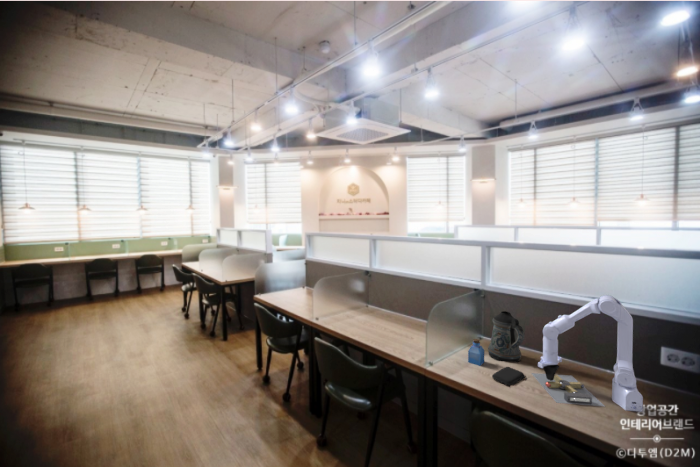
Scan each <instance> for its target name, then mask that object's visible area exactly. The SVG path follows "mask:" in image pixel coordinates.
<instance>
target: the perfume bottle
mask: <svg viewBox="0 0 700 467" xmlns="http://www.w3.org/2000/svg"><path fill="white" fill-rule="evenodd" d="M480 341H481V340H480V339H478V338H473V340H472V345H471V346H470V347H469V349H468V350H467V353H468V354H467V356H468V357H467V363H469V364H472V365H476V366H479V367H481V365H483V364H484V363H485V349H484V348H483V346H482V345H481V342H480Z"/></svg>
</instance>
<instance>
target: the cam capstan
mask: <svg viewBox="0 0 700 467" xmlns="http://www.w3.org/2000/svg"><path fill="white" fill-rule="evenodd" d="M558 375H559V374H556V373H555V376H554V380H555V381H556V382H549V381H547V382H546V383H545V385H546V386H547V387H549V388H559V389H562V390H567V391H568V392H569V393H577V391H576V390H575V389H573V388H578V389H582V388H584V387H585V384H584V383H583V382H581V381H578V382H568V381H565V380H563V379H561V378H560V377H559V376H558Z"/></svg>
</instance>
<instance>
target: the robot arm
mask: <svg viewBox="0 0 700 467" xmlns="http://www.w3.org/2000/svg"><path fill="white" fill-rule="evenodd" d="M601 313H602V314H605V315H607V316H609V317H611V318H613V319H614V320H615V321H616V322H617V332H616V334H617V338H616V339H617V341H616V348H617V349H616V363H615V364H614V365H613V372H614V377H613V378H612V383H611V388H612V389H611V400H612V401H613V403H615V404H616V405H618V406H620V407H621V409H623V410H624V411H631V412H643V406H644V404H643V403H644V402H643V401H644V397H643V395H642V394H641V392H639V389H638V388H637V378H636V376H635V370H634V368H633V367H634V366H633V349H634V348H633V347H634V346H633V342H634V340H633V339H634V338H633V337H634V334H633V333H634V332H633V330H634V319H633V317H632V315H631V313H630V312H629V311H628V310H627V308H625V305H623V304H622V302H621V301H620V300H618V299H617V298H616V297H614V296H612V295H609V294H603V295H601V296H600V297H598V298H594V299H592V300H591V301H589V302H587V303H586V304H584V305H583V306H581V307H580V308H578V309H577V310H575V311H574V312H572V313H571V314H563V315H562V314H559V315H558V316H557V318H556V319H555V320H553V321H549V322H548V323H547V324H545V325H544V327H543V329H542V335H543V337H542V355H541V356H540V361H538V362H537V367H538V368H540V369H543V370H544V374H546V377H547V379H548V380H550V381H552V380H553V379H554V376H555V374H556V373H557V371H558V369H559V368H560V365H559V363H562V362H563V357H561V356H559V340H558V341H557V339H558V337H559V335H561V334H563V333H564V332H566V331H568V330H570V329H572V328H573V327H575V324H576V323H575V322H578V321H579V320H581V319H583V318H585V317H587V316H589V315H590V314H597V315H598V314H599V315H600V314H601ZM543 338H544V339H543ZM557 364H558V365H557Z"/></svg>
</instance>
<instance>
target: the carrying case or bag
mask: <svg viewBox="0 0 700 467" xmlns="http://www.w3.org/2000/svg"><path fill="white" fill-rule="evenodd" d="M492 379H493V381H496V382H497V383H498V382H499V383H501V384H503V385H505V386H507V387H511V386H514V385H515V384H517V383H519V382H520V381H525V379H526V375H525V374H524V372H522V371H521V370H520V371H519V370H518V369H515V368H513V367H511V366H505V367H503V368H501V369H500V370H498V371H496V372H495V373H493V374H492Z"/></svg>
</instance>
